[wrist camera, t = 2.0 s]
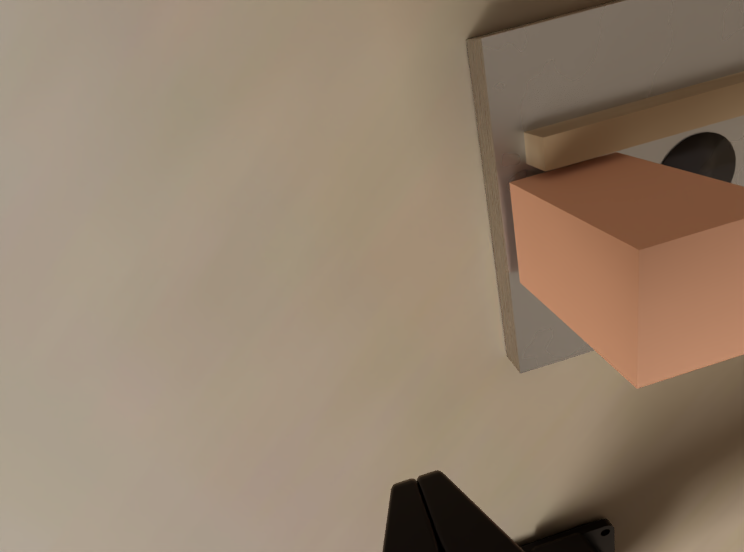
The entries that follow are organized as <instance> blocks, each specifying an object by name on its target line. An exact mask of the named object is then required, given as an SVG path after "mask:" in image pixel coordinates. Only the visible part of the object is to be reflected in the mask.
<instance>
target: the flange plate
mask: <svg viewBox="0 0 744 552" xmlns="http://www.w3.org/2000/svg"><path fill="white" fill-rule="evenodd" d="M466 43H467V50H468V58H469V66H470V74H471V81H472V89H473V97H474V104H475V112H476V120H477V128H478V135H479V143H480V151H481V159H482V166H483V174H484V182H485V189H486V197H487V205H488V213H489V220H490V228H491V236H492V244H493V251H494V259H495V267H496V274H497V282H498V290H499V298H500V305H501V313H502V321H503V329H504V336H505V344H506V352H507V357H508V358H509V360H510V361H511V362H512V363H513V365H514V366H515V367H516V368H517V370H518V371H519V372H520V373H523V372H527V371H530V370H533V369H536V368H539V367H543V366H546V365H549V364H552V363H555V362H559V361H562V360H565V359H568V358H571V357H575V356H578V355H581V354H584V353H587V352H590V351H594V349H593V348H592V347H591V346H589V345H588V344H587V343H586V342H585V341H584V340H583V339H582V338H581V337H580V336H578V335H577V334H576V333H575V332H574V331H573V330H572V329H571V328H570V327H569V326H567V325H566V324H565V323H564V322H563V321H562V320H561V319H560V318H559V317H557V316H556V315H555V314H554V313H553V312H552V311H551V310H550V309H549V308H548V307H546V306H545V305H544V304H543V303H542V302H541V301H540V300H539V299H538V298H537V297H535V296H534V295H533V294H532V293H531V292H530V291H529V290H528V289H527V288H525V287H524V286H523V285H522V284H521V283H520V278H519V269H518V259H517V250H516V240H515V231H514V222H513V212H512V203H511V193H510V184H509V182H512V181H516V180H519V179H523V178H526V177H530V176H533V175H537V174H540V173H544V172H545V171H543V170H540V169H538V168H536V167H533V166H531V165H528V164H526V152H525V141H524V132H526V131H530V130H533V129H537V128H541V127H544V126H548V125H552V124H555V123H559V122H562V121H566V120H570V119H573V118H577V117H580V116H584V115H588V114H591V113H595V112H598V111H602V110H606V109H609V108H613V107H616V106H620V105H624V104H627V103H631V102H634V101H638V100H642V99H645V98H649V97H652V96H656V95H660V94H663V93H667V92H670V91H674V90H678V89H681V88H685V87H688V86H692V85H696V84H699V83H703V82H706V81H710V80H714V79H717V78H721V77H725V76H728V75H732V74H735V73H739V72H743V71H744V0H617V1H613V2H609V3H605V4H601V5H597V6H594V7H590V8H586V9H582V10H578V11H574V12H571V13H567V14H563V15H559V16H555V17H552V18H548V19H544V20H540V21H536V22H532V23H529V24H525V25H521V26H517V27H513V28H509V29H506V30H502V31H498V32H494V33H490V34H486V35H483V36H479V37H475V38H471V39H467V40H466ZM616 152H618V153H621V154H625V155H629V156H633V157H636V158H640V159H644V160H647V161H651V162H655V163H658V164H662V165H666V166H669V167H673V168H677V169H681V170H684V171H688V172H692V173H695V174H699V175H703V176H706V177H710V178H714V179H718V180H721V181H725V182H729V183H732V184H736V185H740V186H743V187H744V115H743V116H739V117H736V118H732V119H729V120H725V121H722V122H718V123H715V124H711V125H707V126H704V127H700V128H697V129H693V130H690V131H686V132H683V133H679V134H676V135H672V136H669V137H665V138H662V139H658V140H655V141H651V142H648V143H644V144H641V145H637V146H634V147H630V148H627V149H623V150H620V151H616ZM613 153H614V152H613ZM609 154H611V153H609ZM605 155H607V154H605ZM602 156H604V155H602ZM598 157H600V156H598ZM595 158H597V157H595ZM591 159H593V158H591ZM588 160H590V159H588ZM584 161H586V160H584ZM581 162H583V161H581ZM577 163H579V162H577ZM574 164H576V163H574ZM570 165H572V164H570ZM567 166H569V165H567ZM563 167H565V166H563ZM560 168H562V167H560ZM556 169H558V168H556ZM553 170H555V169H553ZM549 171H551V170H549ZM546 172H547V171H546Z"/></svg>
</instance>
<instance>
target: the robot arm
mask: <svg viewBox="0 0 744 552" xmlns="http://www.w3.org/2000/svg"><path fill="white" fill-rule="evenodd" d="M383 552H615V544H614V527H613V526H612V524H611V523H610V522H609V520H607V519H601V520H598V521H595V522H592V523H589V524H586V525H583V526H580V527H577V528H574V529H571V530H568V531H565V532H562V533H559V534H556V535H553V536H551V537H548V538H545V539H542V540H539V541H536V542H533V543H530V544H527V545H524V546H521V547H519V546H518V545H517V544H516V543H515V542H514V541H513V540H512V539H511V538H510V537H509V536H508V535H507V534H506V533H505V532H504V531H503V530H502V529H500V528H499V527H498V526H497V525H496V524H495V523H494V522H493V521H492V520H491V519H490V518H489V517H488V516H487V515H486V514H485V513H484V512H483V511H482V510H481V509H480V508H479V507H478V506H477V505H476V504H475V503H474V502H473V501H471V500H470V499H469V498H468V497H467V496H466V495H465V494H464V493H463V492H462V491H461V490H460V489H459V488H458V487H457V486H456V485H455V484H454V483H453V482H452V481H451V480H450V479H449V478H448V477H447V476H446V475H445V474H443V473H442V472H441V471H438V470H437V471H433V472H430V473H427V474H424V475H421V476H419V477H418V478H417V481H416V480H415V479H408V480H405V481H402V482H399V483H396V484H394V485H393V486H392V489H391V494H390V501H389V509H388V516H387V523H386V531H385V538H384V545H383Z"/></svg>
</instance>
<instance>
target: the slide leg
mask: <svg viewBox="0 0 744 552" xmlns="http://www.w3.org/2000/svg"><path fill="white" fill-rule="evenodd" d="M509 184H510V193H511V203H512V212H513V222H514V231H515V240H516V250H517V259H518V269H519V278H520V283H521V284H522V285H523V286H524V287H525V288H527V289H528V290H529V291H530V292H531V293H532V294H533V295H534V296H535V297H537V298H538V299H539V300H540V301H541V302H542V303H543V304H544V305H545V306H546V307H548V308H549V309H550V310H551V311H552V312H553V313H554V314H555V315H556V316H557V317H559V318H560V319H561V320H562V321H563V322H564V323H565V324H566V325H567V326H569V327H570V328H571V329H572V330H573V331H574V332H575V333H576V334H577V335H578V336H580V337H581V338H582V339H583V340H584V341H585V342H586V343H587V344H588V345H589V346H591V347H592V348H593V349H594V350H595V351H596V352H597V353H598V354H599V355H601V356H602V357H603V358H604V359H605V360H606V361H607V362H608V363H609V364H610V365H612V366H613V367H614V368H615V369H616V370H617V371H618V372H619V373H620V374H622V375H623V376H624V377H625V378H626V379H627V380H628V381H629V382H630V383H631V384H633V385H634V386H635V387H636V388H641V387H644V386H647V385H650V384H653V383H656V382H659V381H662V380H665V379H669V378H672V377H675V376H678V375H681V374H684V373H687V372H690V371H693V370H697V369H700V368H703V367H706V366H709V365H712V364H715V363H718V362H721V361H725V360H728V359H731V358H734V357H737V356H740V355H743V354H744V187H743V186H740V185H736V184H732V183H729V182H725V181H721V180H718V179H714V178H710V177H706V176H703V175H699V174H695V173H692V172H688V171H684V170H681V169H677V168H673V167H669V166H666V165H662V164H658V163H655V162H651V161H647V160H644V159H640V158H636V157H633V156H629V155H625V154H621V153H618V152H614V153H611V154H607V155H604V156H600V157H597V158H593V159H590V160H586V161H583V162H579V163H576V164H572V165H569V166H565V167H562V168H558V169H555V170H551V171H547V172H544V173H540V174H537V175H533V176H530V177H526V178H523V179H519V180H516V181H512V182H509Z"/></svg>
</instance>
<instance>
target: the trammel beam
mask: <svg viewBox="0 0 744 552" xmlns="http://www.w3.org/2000/svg"><path fill="white" fill-rule="evenodd" d="M743 115H744V71H743V72H739V73H735V74H732V75H728V76H725V77H721V78H717V79H714V80H710V81H706V82H703V83H699V84H696V85H692V86H688V87H685V88H681V89H678V90H674V91H670V92H667V93H663V94H660V95H656V96H652V97H649V98H645V99H642V100H638V101H634V102H631V103H627V104H624V105H620V106H616V107H613V108H609V109H606V110H602V111H598V112H595V113H591V114H588V115H584V116H580V117H577V118H573V119H570V120H566V121H562V122H559V123H555V124H552V125H548V126H544V127H541V128H537V129H533V130H530V131H526V132H524V141H525V152H526V164H528V165H531V166H533V167H536V168H538V169H540V170H543V171H545V172H546V171H549V170H553V169H556V168H560V167H563V166H567V165H570V164H574V163H577V162H581V161H584V160H588V159H591V158H595V157H598V156H602V155H605V154H609V153H613V152H616V151H620V150H623V149H627V148H630V147H634V146H637V145H641V144H644V143H648V142H651V141H655V140H658V139H662V138H665V137H669V136H672V135H676V134H679V133H683V132H686V131H690V130H693V129H697V128H700V127H704V126H707V125H711V124H715V123H718V122H722V121H725V120H729V119H732V118H736V117H739V116H743Z"/></svg>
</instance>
